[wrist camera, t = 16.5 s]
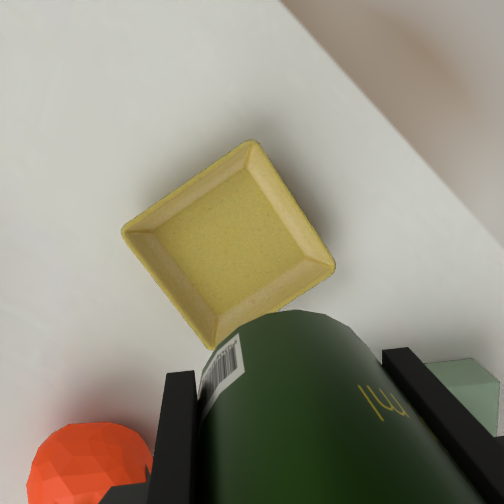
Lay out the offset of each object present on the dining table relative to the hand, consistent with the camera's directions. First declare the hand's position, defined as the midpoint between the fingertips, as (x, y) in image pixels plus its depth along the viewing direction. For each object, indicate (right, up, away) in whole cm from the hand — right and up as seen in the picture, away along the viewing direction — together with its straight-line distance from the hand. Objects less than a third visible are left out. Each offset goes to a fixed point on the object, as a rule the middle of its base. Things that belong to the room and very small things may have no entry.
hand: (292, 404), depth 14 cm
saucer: (-2, +5, +14) cm, 15 cm away
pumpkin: (-10, -8, +17) cm, 21 cm away
